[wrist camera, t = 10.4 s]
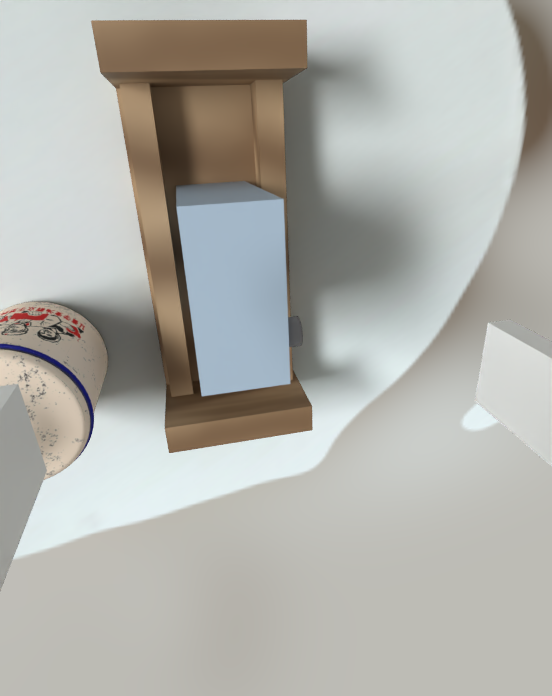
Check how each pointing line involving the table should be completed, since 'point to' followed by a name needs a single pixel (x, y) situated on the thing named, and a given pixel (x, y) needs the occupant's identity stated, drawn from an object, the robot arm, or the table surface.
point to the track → (200, 168)
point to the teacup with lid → (54, 375)
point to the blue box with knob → (237, 285)
